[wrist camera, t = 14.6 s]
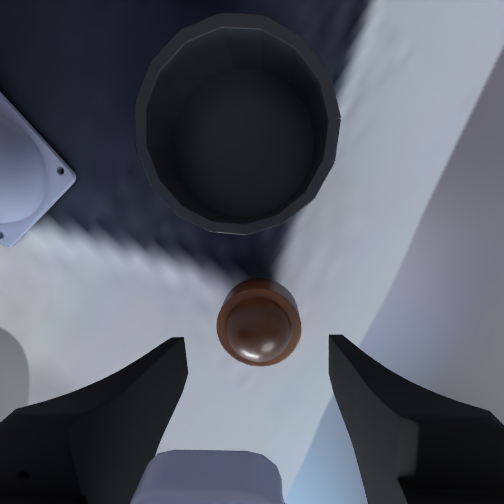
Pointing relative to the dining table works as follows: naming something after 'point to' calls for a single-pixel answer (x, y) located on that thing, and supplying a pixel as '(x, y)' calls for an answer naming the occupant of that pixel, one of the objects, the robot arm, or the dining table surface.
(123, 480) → the robot arm
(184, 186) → the pot
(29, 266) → the dining table surface
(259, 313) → the mushroom
